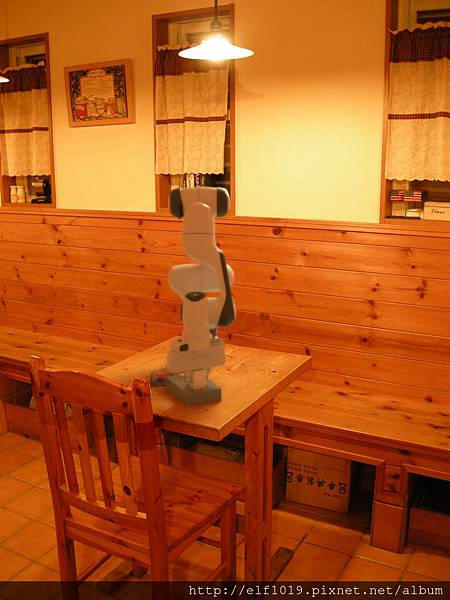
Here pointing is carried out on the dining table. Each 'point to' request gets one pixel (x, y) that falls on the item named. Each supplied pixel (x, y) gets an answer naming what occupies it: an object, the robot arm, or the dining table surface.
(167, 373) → the smartphone
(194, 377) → the block with round knob
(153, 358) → the dining table surface
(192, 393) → the grey rectangular box
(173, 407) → the dining table surface
